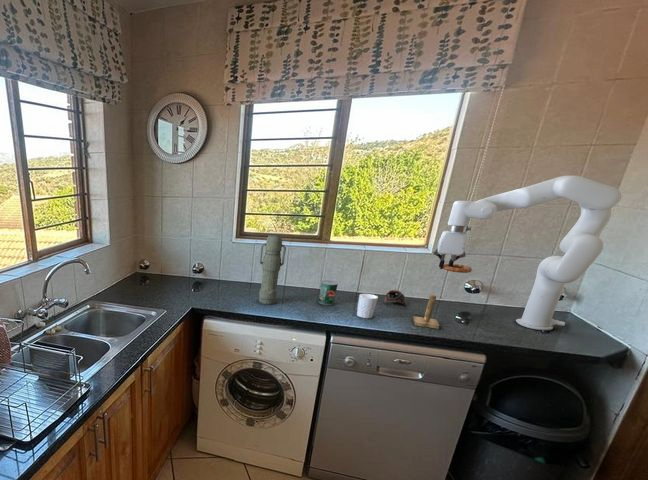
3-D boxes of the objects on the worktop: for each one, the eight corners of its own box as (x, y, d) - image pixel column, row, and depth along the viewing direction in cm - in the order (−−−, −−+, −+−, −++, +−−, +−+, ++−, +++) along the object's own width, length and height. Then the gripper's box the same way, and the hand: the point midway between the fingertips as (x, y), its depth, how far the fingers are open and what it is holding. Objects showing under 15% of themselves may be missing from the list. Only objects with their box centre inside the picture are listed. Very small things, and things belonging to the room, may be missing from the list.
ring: (468, 269, 189) (469, 265, 188) (473, 274, 180) (474, 270, 179) (440, 266, 194) (441, 262, 193) (443, 271, 184) (444, 267, 184)
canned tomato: (331, 306, 206) (335, 285, 202) (316, 303, 211) (319, 282, 207) (335, 302, 212) (339, 282, 208) (320, 299, 217) (323, 279, 213)
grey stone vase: (279, 305, 207) (288, 236, 194) (255, 303, 210) (263, 235, 197) (278, 300, 215) (287, 234, 202) (255, 298, 218) (263, 233, 205)
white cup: (363, 319, 188) (368, 299, 184) (351, 314, 195) (355, 294, 191) (377, 318, 190) (382, 297, 186) (364, 312, 197) (369, 293, 193)
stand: (435, 322, 185) (443, 294, 180) (438, 328, 178) (447, 299, 173) (412, 319, 189) (420, 291, 184) (415, 325, 181) (422, 296, 176)
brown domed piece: (409, 307, 206) (407, 295, 202) (389, 314, 209) (387, 302, 205) (399, 295, 216) (397, 283, 212) (380, 301, 219) (377, 290, 215)
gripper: (476, 229, 181) (463, 269, 188) (434, 226, 188) (423, 265, 195) (480, 231, 175) (467, 272, 182) (436, 228, 182) (425, 268, 189)
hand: (444, 268), depth 188 cm, fingers closed on ring, 2 cm apart
